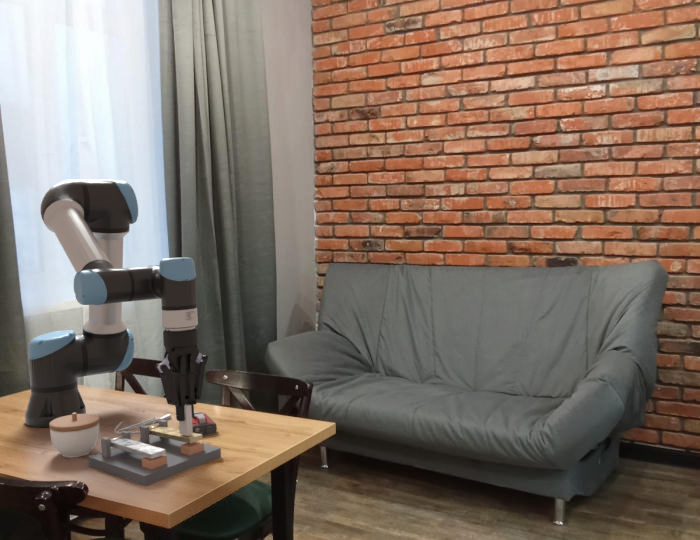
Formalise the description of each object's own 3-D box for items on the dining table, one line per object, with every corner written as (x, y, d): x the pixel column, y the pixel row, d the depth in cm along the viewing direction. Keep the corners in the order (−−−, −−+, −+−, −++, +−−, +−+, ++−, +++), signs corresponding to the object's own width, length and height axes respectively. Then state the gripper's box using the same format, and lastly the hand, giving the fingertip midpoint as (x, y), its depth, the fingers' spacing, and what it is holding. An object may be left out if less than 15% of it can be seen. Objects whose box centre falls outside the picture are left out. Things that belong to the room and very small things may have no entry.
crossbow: (130, 443, 168) (129, 435, 168) (103, 433, 176) (102, 426, 176) (184, 423, 180) (183, 416, 180) (156, 415, 189) (155, 408, 188)
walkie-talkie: (171, 426, 178) (189, 449, 160) (171, 410, 177) (188, 430, 159) (205, 421, 181) (226, 443, 163) (204, 405, 181) (225, 425, 163)
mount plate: (88, 465, 149) (87, 438, 149) (164, 440, 165) (163, 416, 165) (145, 485, 137) (143, 456, 137) (220, 456, 153) (219, 430, 153)
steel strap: (106, 446, 150) (106, 439, 150) (120, 442, 153) (120, 435, 153) (151, 460, 141) (151, 452, 141) (165, 455, 143) (165, 448, 143)
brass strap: (145, 434, 158) (144, 427, 158) (157, 430, 161) (157, 424, 161) (190, 444, 149) (189, 437, 148) (202, 440, 151) (202, 433, 151)
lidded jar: (99, 458, 154) (97, 416, 154) (47, 463, 151) (45, 422, 151) (102, 443, 165) (100, 404, 164) (54, 448, 161) (51, 409, 161)
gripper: (166, 333, 143) (172, 444, 144) (214, 325, 153) (220, 429, 155) (145, 331, 148) (151, 439, 149) (192, 323, 158) (198, 424, 159)
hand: (186, 433), depth 152 cm, fingers closed
